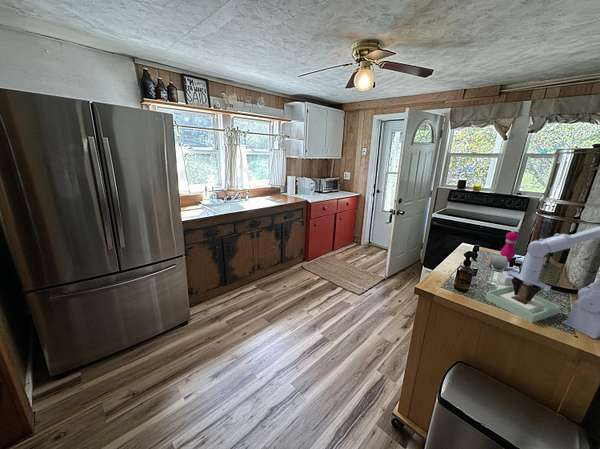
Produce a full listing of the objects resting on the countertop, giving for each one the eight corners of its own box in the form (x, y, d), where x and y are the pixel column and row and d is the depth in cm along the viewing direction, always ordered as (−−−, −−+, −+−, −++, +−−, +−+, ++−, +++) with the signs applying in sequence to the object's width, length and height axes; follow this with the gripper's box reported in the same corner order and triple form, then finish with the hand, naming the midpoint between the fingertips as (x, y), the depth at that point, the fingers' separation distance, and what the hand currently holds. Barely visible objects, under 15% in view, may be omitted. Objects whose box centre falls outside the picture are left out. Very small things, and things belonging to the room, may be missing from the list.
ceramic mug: (485, 263, 152) (488, 252, 150) (502, 266, 149) (505, 254, 147) (490, 270, 143) (493, 258, 141) (507, 274, 140) (511, 261, 138)
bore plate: (542, 310, 106) (545, 304, 105) (526, 315, 102) (528, 309, 101) (513, 296, 116) (515, 291, 115) (498, 301, 112) (499, 295, 111)
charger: (519, 278, 135) (527, 290, 123) (498, 273, 140) (503, 285, 127) (522, 270, 134) (529, 282, 122) (500, 266, 138) (506, 277, 126)
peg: (529, 304, 108) (534, 287, 105) (524, 305, 106) (529, 289, 104) (518, 299, 111) (523, 283, 109) (513, 300, 109) (518, 284, 107)
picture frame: (557, 314, 104) (560, 306, 103) (531, 324, 98) (534, 315, 97) (510, 292, 120) (512, 285, 119) (484, 299, 114) (486, 291, 113)
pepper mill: (502, 261, 155) (511, 231, 150) (496, 257, 162) (503, 228, 156) (515, 262, 154) (524, 232, 148) (508, 258, 161) (516, 228, 155)
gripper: (559, 275, 99) (548, 305, 103) (517, 260, 112) (509, 287, 116) (548, 278, 96) (538, 308, 100) (507, 262, 109) (499, 290, 113)
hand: (522, 297), depth 108 cm, fingers closed on peg, 4 cm apart
